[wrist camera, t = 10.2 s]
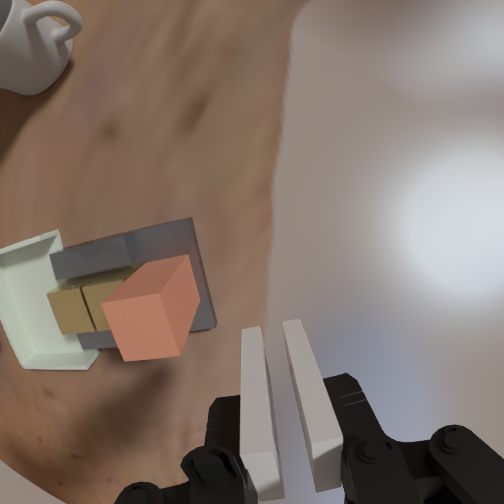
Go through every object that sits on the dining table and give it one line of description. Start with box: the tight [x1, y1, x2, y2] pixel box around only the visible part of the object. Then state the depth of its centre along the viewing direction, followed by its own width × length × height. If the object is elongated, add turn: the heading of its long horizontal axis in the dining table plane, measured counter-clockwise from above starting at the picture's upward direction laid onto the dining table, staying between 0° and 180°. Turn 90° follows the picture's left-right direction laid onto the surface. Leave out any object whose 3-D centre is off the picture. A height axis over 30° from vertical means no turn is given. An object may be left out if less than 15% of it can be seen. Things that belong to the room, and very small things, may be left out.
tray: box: [0, 229, 100, 370], centre depth 25 cm, size 11×14×3 cm
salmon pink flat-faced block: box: [101, 254, 200, 362], centre depth 21 cm, size 4×4×9 cm
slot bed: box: [49, 217, 217, 350], centre depth 25 cm, size 14×10×3 cm
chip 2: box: [82, 265, 140, 331], centre depth 23 cm, size 4×4×4 cm
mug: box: [0, 0, 83, 95], centre depth 15 cm, size 12×8×11 cm
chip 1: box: [46, 273, 99, 335], centre depth 24 cm, size 4×4×4 cm
